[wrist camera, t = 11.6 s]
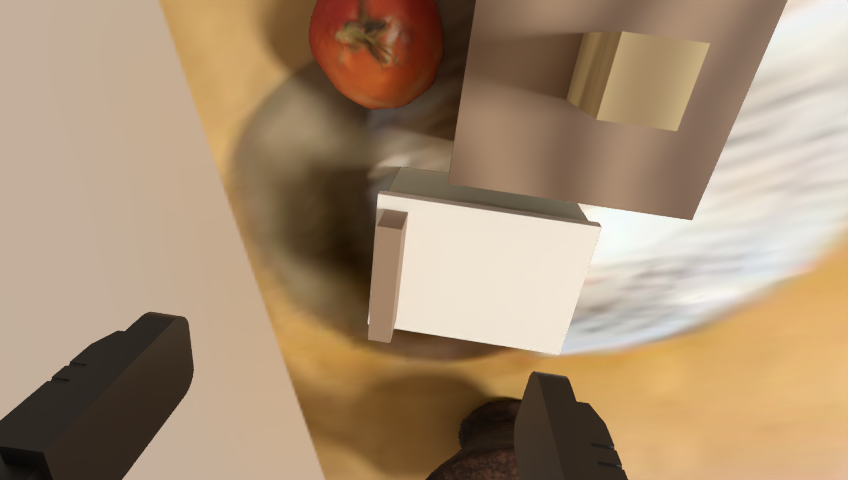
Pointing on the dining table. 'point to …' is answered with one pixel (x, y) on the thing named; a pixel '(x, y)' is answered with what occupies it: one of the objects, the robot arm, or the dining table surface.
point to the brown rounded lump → (484, 446)
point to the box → (478, 194)
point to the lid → (476, 272)
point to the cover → (606, 97)
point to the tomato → (378, 48)
